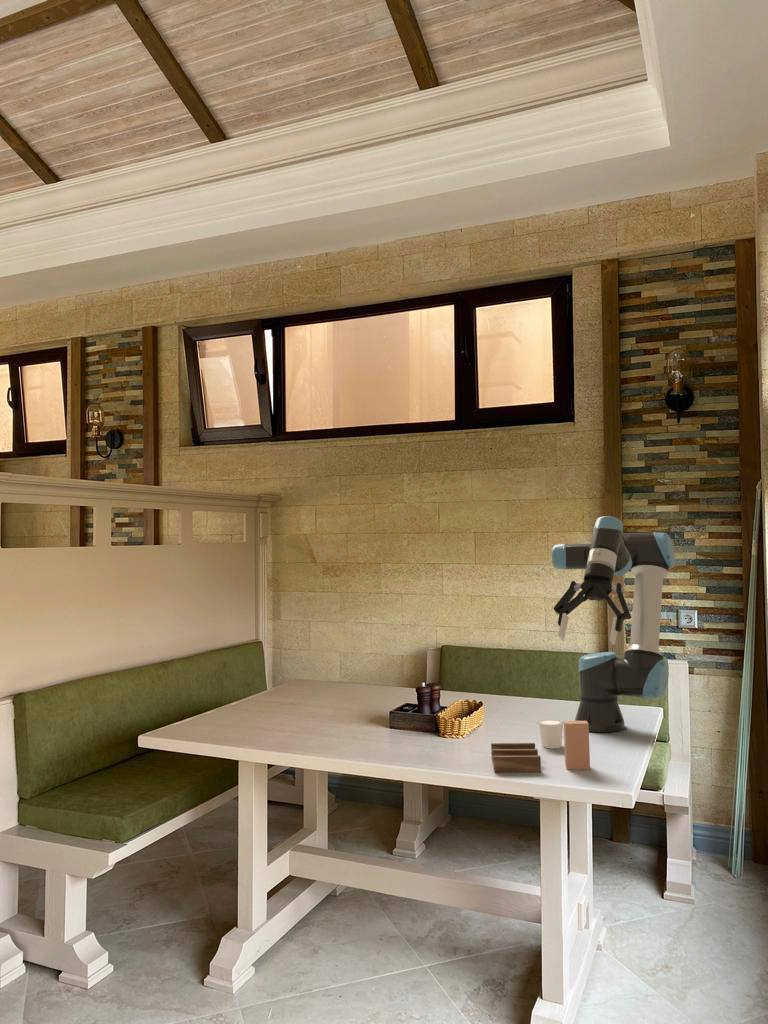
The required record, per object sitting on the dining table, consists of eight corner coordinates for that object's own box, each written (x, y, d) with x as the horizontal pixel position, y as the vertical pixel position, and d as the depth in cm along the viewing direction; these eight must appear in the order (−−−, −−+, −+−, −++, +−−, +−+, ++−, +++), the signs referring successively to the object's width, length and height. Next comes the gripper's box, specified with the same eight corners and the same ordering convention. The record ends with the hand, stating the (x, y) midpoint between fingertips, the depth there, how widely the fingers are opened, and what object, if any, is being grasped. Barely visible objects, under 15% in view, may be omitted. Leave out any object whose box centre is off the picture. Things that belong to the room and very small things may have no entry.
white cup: (564, 749, 224) (563, 725, 224) (539, 749, 225) (539, 724, 226) (563, 743, 231) (562, 719, 231) (539, 742, 232) (538, 719, 232)
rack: (491, 757, 218) (491, 743, 219) (535, 757, 218) (534, 742, 218) (494, 772, 205) (494, 757, 205) (540, 772, 204) (540, 756, 204)
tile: (565, 766, 209) (563, 720, 209) (588, 766, 208) (586, 720, 208) (566, 769, 206) (565, 723, 206) (590, 769, 205) (588, 723, 205)
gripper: (552, 560, 217) (536, 629, 208) (643, 563, 203) (631, 637, 194) (560, 573, 223) (545, 641, 213) (650, 577, 209) (638, 650, 199)
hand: (586, 639), depth 203 cm, fingers open, 13 cm apart
